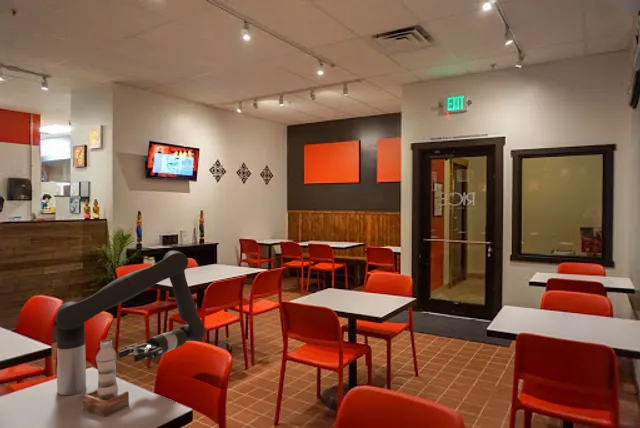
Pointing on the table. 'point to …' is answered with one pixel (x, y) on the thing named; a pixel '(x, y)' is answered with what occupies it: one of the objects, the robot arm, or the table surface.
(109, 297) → the robot arm
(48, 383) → the table surface
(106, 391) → the plastic bottle
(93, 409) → the dock
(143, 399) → the table surface
